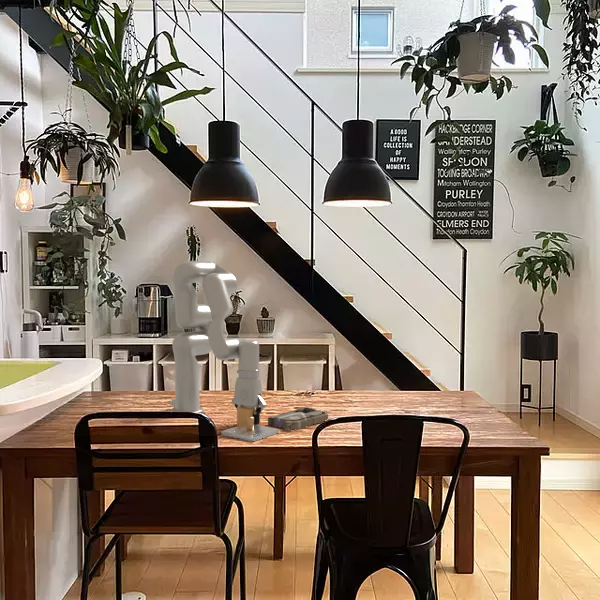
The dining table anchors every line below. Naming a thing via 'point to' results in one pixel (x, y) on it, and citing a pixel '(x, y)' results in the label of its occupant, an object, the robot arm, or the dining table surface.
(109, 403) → the dining table surface
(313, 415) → the grey flat case
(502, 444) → the dining table surface
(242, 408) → the wooden toy block
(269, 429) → the plate
